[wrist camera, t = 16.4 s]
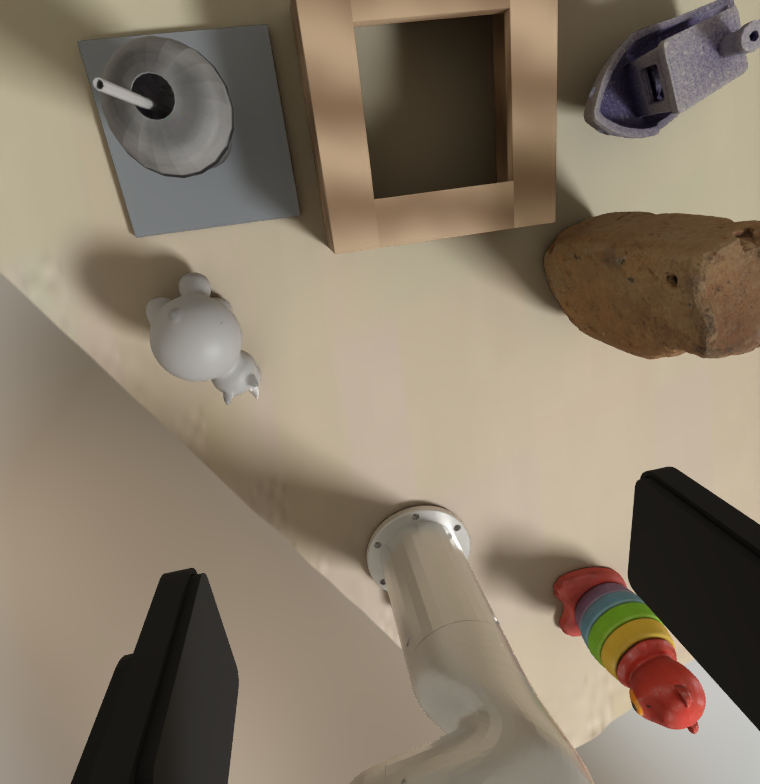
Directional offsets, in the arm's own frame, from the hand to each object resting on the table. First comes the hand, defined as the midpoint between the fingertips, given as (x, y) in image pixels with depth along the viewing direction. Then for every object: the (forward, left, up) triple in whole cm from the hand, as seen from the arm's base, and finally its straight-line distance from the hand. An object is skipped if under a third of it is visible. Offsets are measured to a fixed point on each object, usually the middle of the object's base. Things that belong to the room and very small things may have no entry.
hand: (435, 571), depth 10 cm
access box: (+13, -10, -38) cm, 42 cm away
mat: (+14, +8, -38) cm, 42 cm away
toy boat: (+14, -30, -38) cm, 51 cm away
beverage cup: (+14, +8, -38) cm, 41 cm away
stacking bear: (-46, -29, -38) cm, 67 cm away
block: (-2, -26, -38) cm, 46 cm away
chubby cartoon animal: (-3, +11, -39) cm, 40 cm away
